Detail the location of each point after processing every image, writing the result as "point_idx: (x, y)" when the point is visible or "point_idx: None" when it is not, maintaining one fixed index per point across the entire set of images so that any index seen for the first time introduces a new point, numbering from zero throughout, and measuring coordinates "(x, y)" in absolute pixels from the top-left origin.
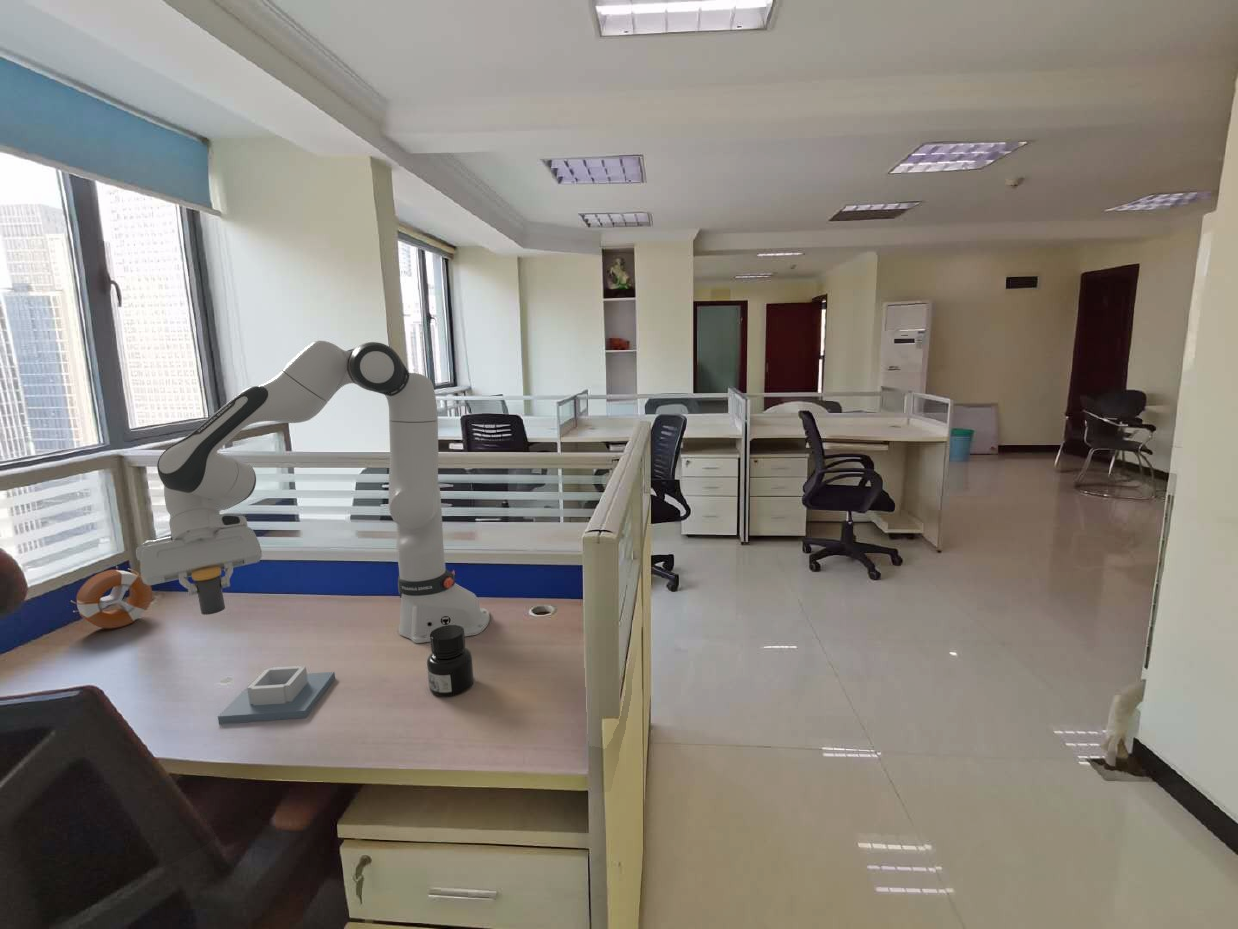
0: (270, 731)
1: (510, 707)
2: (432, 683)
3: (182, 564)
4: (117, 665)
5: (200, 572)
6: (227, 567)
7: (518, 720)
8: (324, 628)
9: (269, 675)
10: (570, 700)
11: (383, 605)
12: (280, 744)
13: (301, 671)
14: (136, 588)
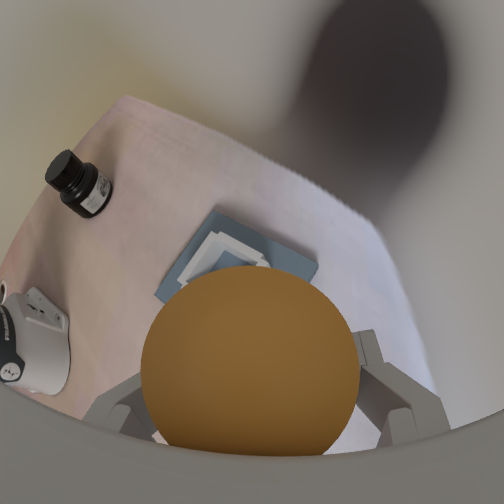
0: (258, 208)
1: (97, 151)
2: (105, 182)
3: (436, 487)
4: None
5: (286, 349)
6: (118, 405)
7: (106, 136)
8: None
9: None
10: (77, 146)
11: None
12: (252, 177)
13: (186, 266)
14: None
